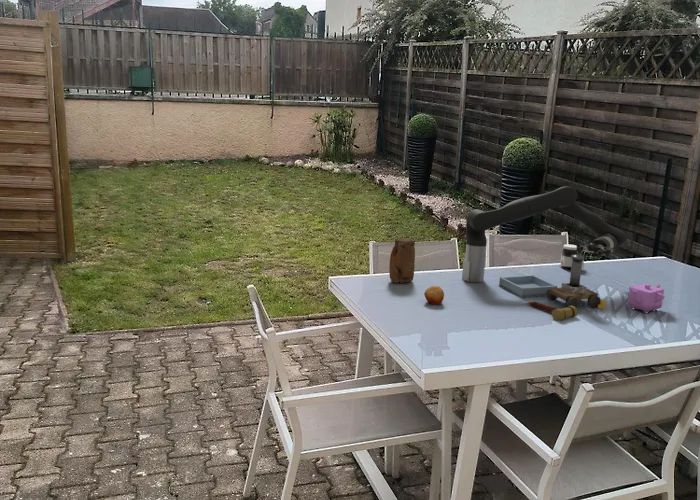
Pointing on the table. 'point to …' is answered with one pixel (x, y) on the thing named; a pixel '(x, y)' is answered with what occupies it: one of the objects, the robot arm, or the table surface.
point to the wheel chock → (602, 304)
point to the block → (402, 261)
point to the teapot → (645, 297)
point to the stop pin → (576, 270)
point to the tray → (526, 285)
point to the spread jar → (569, 256)
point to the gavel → (556, 310)
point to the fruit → (434, 295)
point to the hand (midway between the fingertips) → (588, 251)
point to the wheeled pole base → (574, 295)
